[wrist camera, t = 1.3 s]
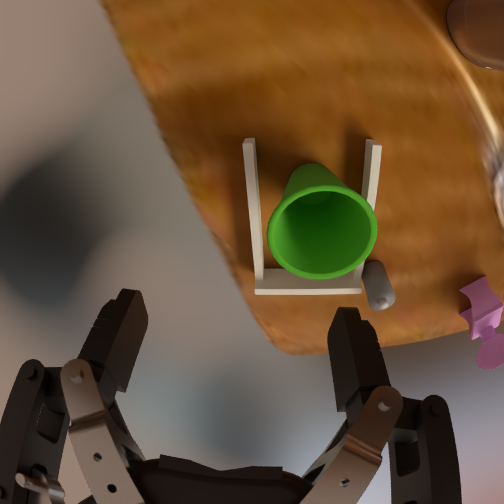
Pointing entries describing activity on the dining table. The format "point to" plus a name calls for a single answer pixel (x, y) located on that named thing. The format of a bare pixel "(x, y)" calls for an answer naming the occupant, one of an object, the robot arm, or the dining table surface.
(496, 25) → the robot arm
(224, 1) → the dining table surface
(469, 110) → the dining table surface
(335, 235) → the cup
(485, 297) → the toy chair
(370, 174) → the bay
